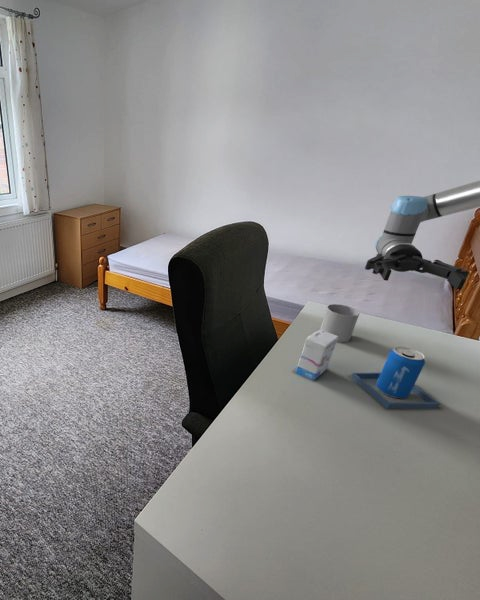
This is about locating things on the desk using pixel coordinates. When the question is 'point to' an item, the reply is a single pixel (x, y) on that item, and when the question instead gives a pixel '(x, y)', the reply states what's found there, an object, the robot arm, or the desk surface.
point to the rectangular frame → (395, 405)
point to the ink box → (316, 354)
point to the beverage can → (400, 372)
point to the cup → (340, 321)
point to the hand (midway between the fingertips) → (423, 279)
